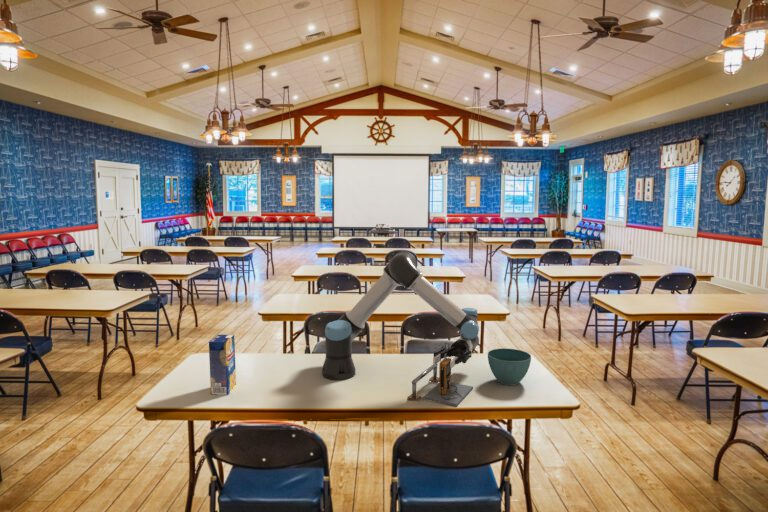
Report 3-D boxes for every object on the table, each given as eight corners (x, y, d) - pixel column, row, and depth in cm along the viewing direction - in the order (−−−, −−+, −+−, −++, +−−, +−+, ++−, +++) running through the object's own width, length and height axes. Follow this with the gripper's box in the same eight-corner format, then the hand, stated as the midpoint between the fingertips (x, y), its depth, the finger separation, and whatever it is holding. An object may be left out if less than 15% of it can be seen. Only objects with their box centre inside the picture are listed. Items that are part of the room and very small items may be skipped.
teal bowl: (478, 382, 215) (479, 354, 213) (500, 371, 228) (501, 345, 227) (517, 393, 203) (518, 364, 201) (537, 381, 216) (538, 354, 214)
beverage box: (236, 384, 211) (234, 334, 208) (227, 395, 200) (225, 342, 198) (220, 384, 211) (218, 334, 209) (210, 395, 200) (208, 342, 198)
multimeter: (460, 402, 191) (461, 352, 188) (435, 398, 195) (436, 349, 192) (470, 388, 204) (471, 341, 202) (447, 384, 209) (447, 338, 206)
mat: (423, 399, 196) (423, 397, 196) (441, 382, 214) (441, 380, 214) (456, 406, 190) (456, 404, 190) (473, 388, 207) (473, 386, 207)
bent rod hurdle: (407, 399, 196) (407, 380, 195) (432, 378, 219) (432, 361, 218) (416, 401, 194) (416, 382, 193) (441, 380, 217) (441, 362, 216)
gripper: (482, 359, 215) (465, 376, 195) (440, 352, 224) (420, 368, 204) (483, 342, 214) (466, 357, 194) (440, 336, 223) (420, 350, 203)
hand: (442, 363), depth 199 cm, fingers open, 7 cm apart
